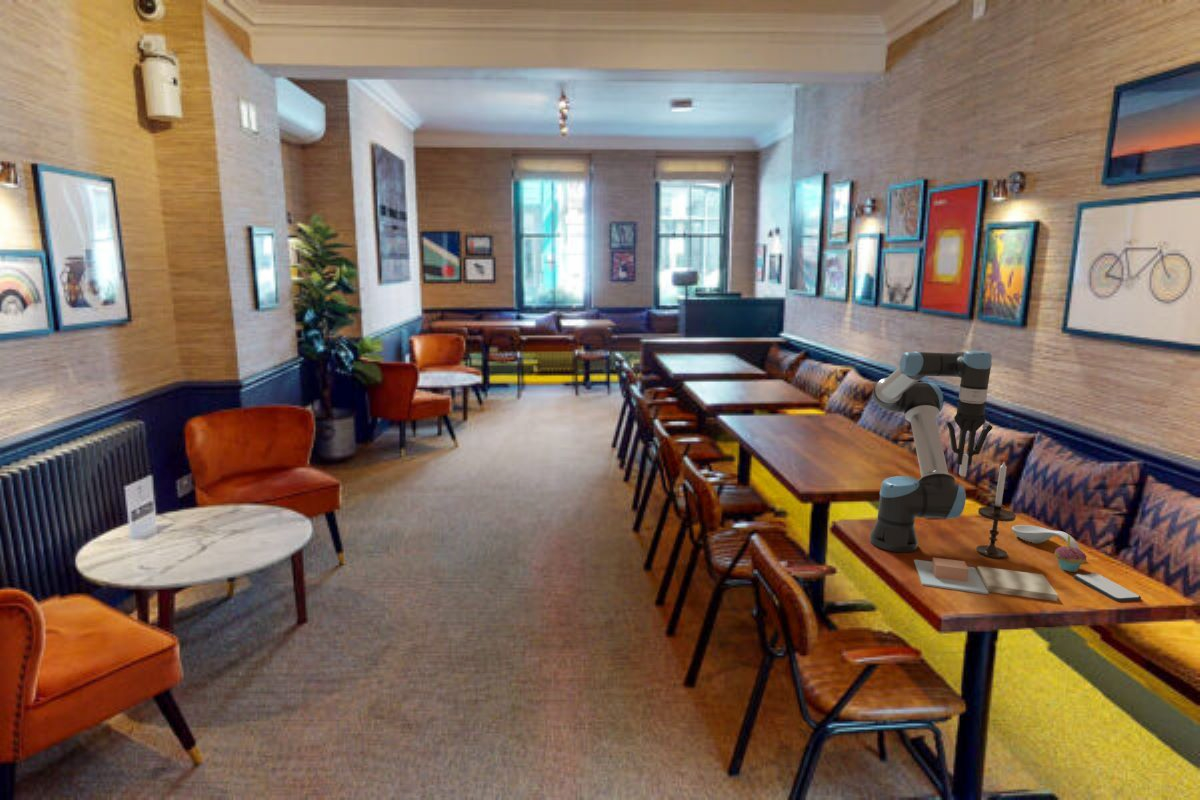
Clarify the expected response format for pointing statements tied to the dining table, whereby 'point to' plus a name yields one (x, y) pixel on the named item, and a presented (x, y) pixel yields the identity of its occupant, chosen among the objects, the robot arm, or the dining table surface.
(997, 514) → the candlestick
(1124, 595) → the phone case
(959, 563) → the pink block
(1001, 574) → the beige flat rectangular piece
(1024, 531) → the spoon rest
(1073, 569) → the cupcake
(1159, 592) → the dining table surface
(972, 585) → the mat
